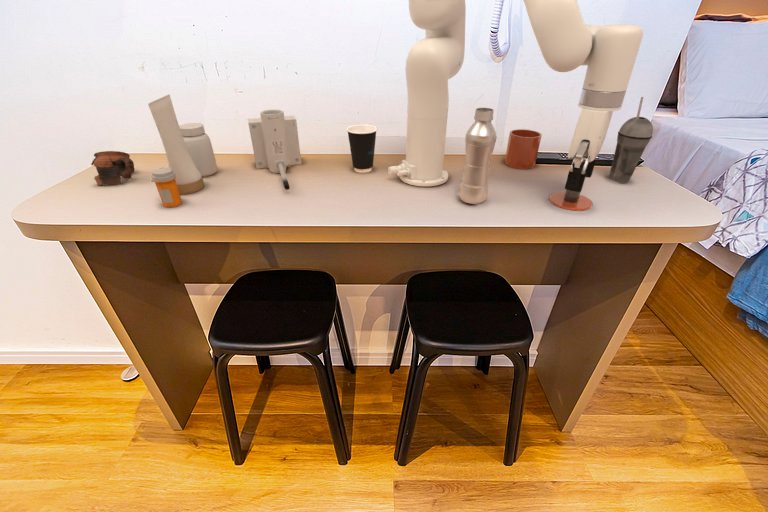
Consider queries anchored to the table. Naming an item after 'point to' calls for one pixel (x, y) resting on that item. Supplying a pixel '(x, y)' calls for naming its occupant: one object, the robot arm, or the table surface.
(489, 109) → the metal water bottle
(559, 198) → the jar lid
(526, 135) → the storage jar
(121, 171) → the pottery mug
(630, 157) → the beverage cup
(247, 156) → the table surface
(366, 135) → the dixie cup
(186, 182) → the toiletry set
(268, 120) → the electronic device
